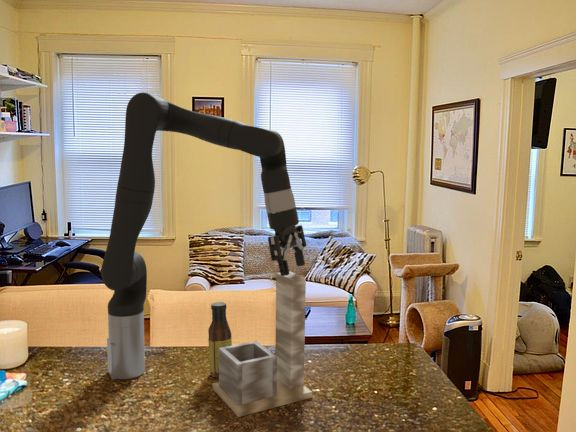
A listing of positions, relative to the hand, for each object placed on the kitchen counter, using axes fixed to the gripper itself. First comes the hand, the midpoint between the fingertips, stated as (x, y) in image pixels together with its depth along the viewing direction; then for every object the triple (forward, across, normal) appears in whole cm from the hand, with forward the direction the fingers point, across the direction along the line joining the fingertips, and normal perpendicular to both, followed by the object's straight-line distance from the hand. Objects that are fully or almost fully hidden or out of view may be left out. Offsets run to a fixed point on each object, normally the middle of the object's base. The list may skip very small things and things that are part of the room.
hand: (293, 270), depth 128 cm
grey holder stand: (+28, +11, -9) cm, 32 cm away
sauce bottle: (+26, +8, -25) cm, 37 cm away
